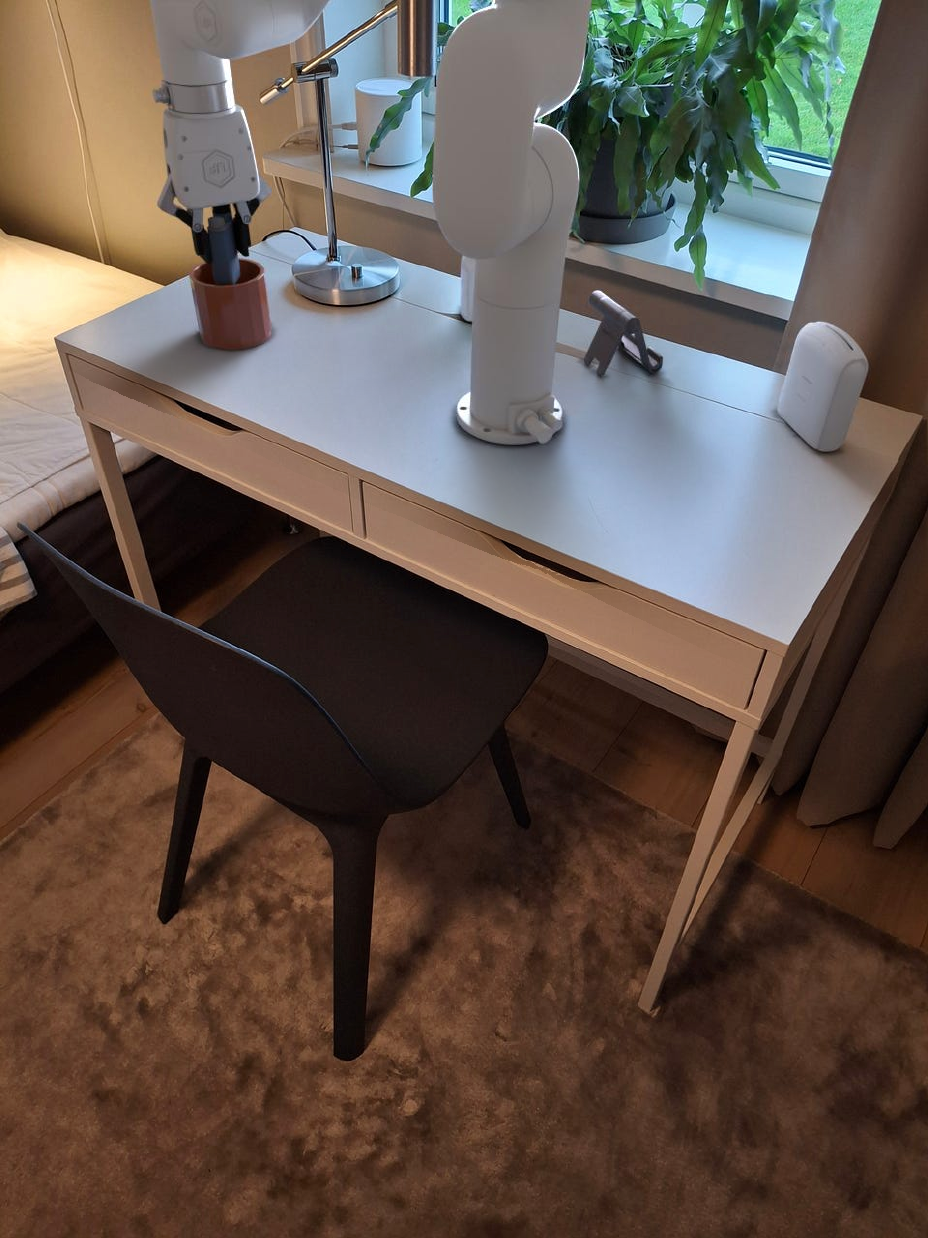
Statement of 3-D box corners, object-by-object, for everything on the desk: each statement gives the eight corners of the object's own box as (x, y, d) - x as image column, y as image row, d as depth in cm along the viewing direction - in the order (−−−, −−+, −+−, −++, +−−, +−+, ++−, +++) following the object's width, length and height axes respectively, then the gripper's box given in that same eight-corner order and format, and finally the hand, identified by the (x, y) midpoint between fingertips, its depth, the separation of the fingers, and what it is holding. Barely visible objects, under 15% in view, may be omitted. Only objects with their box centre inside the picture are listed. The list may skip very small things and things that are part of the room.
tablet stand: (662, 372, 119) (673, 310, 114) (610, 384, 117) (619, 321, 111) (625, 344, 125) (634, 283, 120) (575, 354, 123) (581, 293, 117)
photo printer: (770, 410, 113) (797, 313, 105) (801, 406, 114) (830, 310, 105) (813, 455, 106) (846, 355, 97) (847, 451, 106) (882, 351, 98)
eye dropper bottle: (450, 318, 129) (451, 231, 121) (466, 303, 133) (468, 217, 125) (479, 324, 128) (482, 237, 120) (494, 309, 132) (498, 223, 124)
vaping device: (243, 272, 122) (230, 176, 114) (232, 289, 118) (217, 190, 110) (224, 271, 122) (209, 175, 114) (212, 287, 118) (196, 188, 110)
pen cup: (282, 340, 124) (274, 278, 118) (214, 355, 120) (203, 292, 114) (257, 313, 130) (248, 252, 124) (191, 327, 126) (180, 265, 120)
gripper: (135, 112, 100) (168, 279, 112) (281, 96, 106) (297, 255, 119) (117, 96, 105) (150, 257, 117) (258, 81, 111) (275, 235, 123)
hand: (224, 254), depth 118 cm, fingers closed on vaping device, 4 cm apart
